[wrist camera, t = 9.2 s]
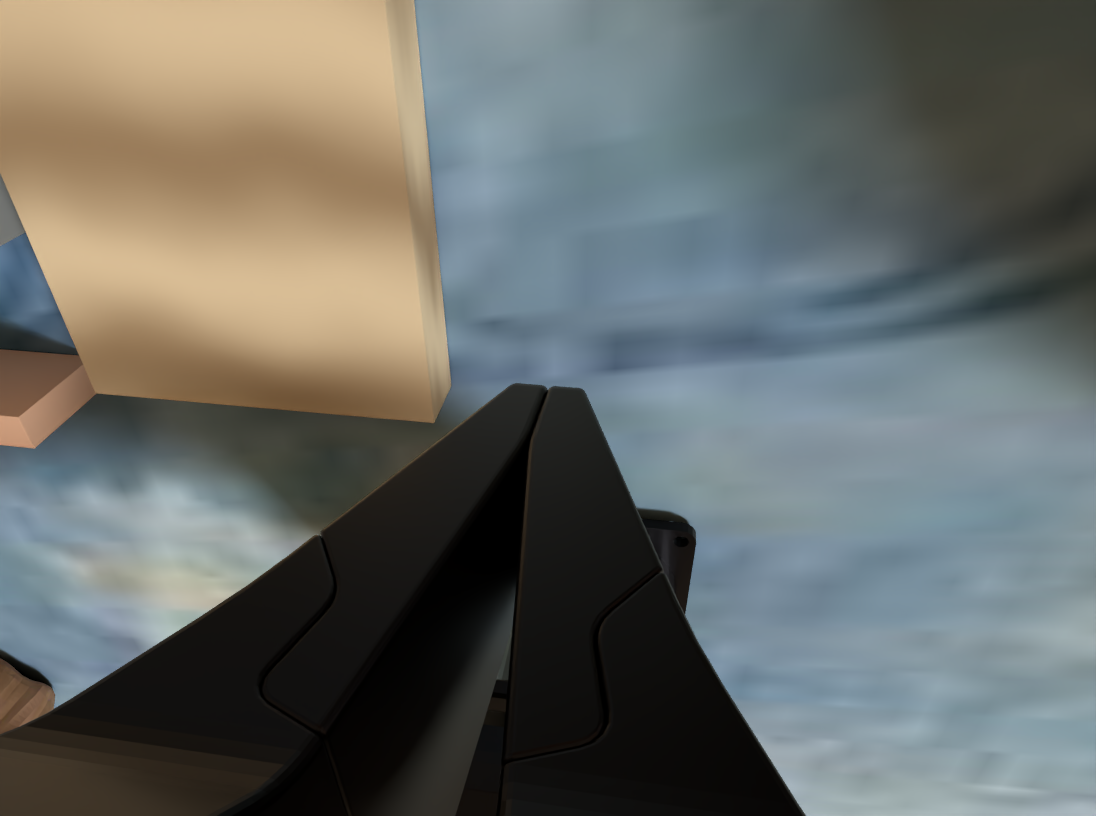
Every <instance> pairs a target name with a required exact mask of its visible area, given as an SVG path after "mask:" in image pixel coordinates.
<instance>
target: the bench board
mask: <svg viewBox="0 0 1096 816" xmlns="http://www.w3.org/2000/svg"><path fill="white" fill-rule="evenodd" d="M0 174H1V176H2V178H3V181H4V183H5V185H6V188H7V190H8V192H9V194H10V197H11V199H12V201H13V204H14V206H15V208H16V211H17V213H18V215H19V218H20V220H21V222H22V225H23V227H24V229H25V231H26V234H27V236H28V238H29V241H30V243H31V245H32V248H33V250H34V252H35V255H36V257H37V259H38V261H39V264H40V266H41V268H42V271H43V273H44V275H45V278H46V280H47V282H48V285H49V287H50V289H51V291H52V294H53V296H54V298H55V301H56V303H57V305H58V308H59V310H60V312H61V315H62V317H63V319H64V321H65V324H66V326H67V328H68V331H69V333H70V335H71V338H72V340H73V342H74V345H75V347H76V349H77V352H78V354H79V356H80V358H81V361H82V363H83V365H84V368H85V370H86V372H87V375H88V377H89V379H90V382H91V384H92V386H93V388H94V391H95V393H98V394H109V395H121V396H132V397H143V398H155V399H166V400H177V401H189V402H200V403H212V404H223V405H234V406H246V407H257V408H269V409H280V410H291V411H303V412H314V413H325V414H337V415H348V416H360V417H371V418H382V419H394V420H405V421H417V422H428V423H435V420H436V418H437V416H438V414H439V412H440V409H441V407H442V405H443V403H444V401H445V399H446V396H447V394H448V392H449V390H450V388H451V378H450V367H449V357H448V347H447V336H446V326H445V316H444V305H443V295H442V284H441V274H440V264H439V253H438V243H437V233H436V222H435V212H434V202H433V191H432V181H431V171H430V160H429V150H428V140H427V129H426V119H425V109H424V98H423V88H422V78H421V67H420V57H419V47H418V36H417V26H416V16H415V5H414V0H0Z"/></svg>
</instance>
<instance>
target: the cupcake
mask: <svg viewBox="0 0 1096 816" xmlns="http://www.w3.org/2000/svg"><path fill="white" fill-rule="evenodd" d="M54 702H55V694H54V691H53V689H52V688H51V687H50V686H48V685H46V684H44V683H41V682H37V681H33V680H31V679H29V678H27V677H24V676H23V675H21V674H20V673H19V672H18V671H17V670H16V669H15V668H14V667H13V666H11V665H10V664H9V663H7V662H6V661H4V660H2V659H0V734H2V733H5V732H7V731H10V730H12V729H15V728H17V727H20V726H22V725H24V724H26V723H28V722H30V721H32V720H34V719H36V718H38V717H40V716H42V715H44V714H46V713H48V712H49V711H51V710H53V709H54Z"/></svg>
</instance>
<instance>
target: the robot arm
mask: <svg viewBox="0 0 1096 816" xmlns="http://www.w3.org/2000/svg"><path fill="white" fill-rule="evenodd" d="M681 536H682V537H685V538H684V539H679V538H677V537H681ZM695 547H696V532H695V530H694V528H693V527H692V526H690V525H688V524H685V523H677V522H668V521H658V520H648V519H641V517H640V515H639V513H638V510H637V508H636V506H635V504H634V501H633V499H632V497H631V494H630V492H629V490H628V488H627V485H626V483H625V481H624V479H623V476H622V474H621V472H620V470H619V467H618V465H617V463H616V461H615V458H614V456H613V454H612V451H611V449H610V447H609V445H608V442H607V440H606V438H605V436H604V433H603V431H602V429H601V427H600V424H599V422H598V420H597V418H596V415H595V413H594V411H593V408H592V406H591V404H590V402H589V399H588V397H587V395H586V393H585V391H584V390H583V389H581V388H571V387H558V386H553V387H551V388H549V390H547V388H546V387H545V386H543V385H533V384H521V383H515V384H512V385H510V386H509V387H507V388H506V389H505V390H504V391H502V392H501V393H500V394H498V395H497V396H496V397H494V398H493V399H492V400H491V401H489V402H488V403H487V404H485V405H484V406H483V407H481V408H480V409H479V410H478V411H476V412H475V413H474V414H472V415H471V416H470V417H468V418H467V419H466V420H465V421H463V422H462V423H461V424H459V425H458V426H457V427H455V428H454V429H453V430H452V431H450V432H449V433H448V434H446V435H445V436H444V437H442V438H441V439H440V440H439V441H437V442H436V443H435V444H433V445H432V446H431V447H429V448H428V449H427V450H426V451H424V452H423V453H422V454H420V455H419V456H418V457H416V458H415V459H414V460H413V461H411V462H410V463H409V464H407V465H406V466H405V467H403V468H402V469H401V470H399V471H398V472H397V473H396V474H394V475H393V476H392V477H390V478H389V479H388V480H386V481H385V482H384V483H383V484H381V485H380V486H379V487H377V488H376V489H375V490H373V491H372V492H371V493H370V494H368V495H367V496H366V497H364V498H363V499H362V500H360V501H359V502H358V503H357V504H355V505H354V506H353V507H351V508H350V509H349V510H347V511H346V512H345V513H344V514H342V515H341V516H340V517H338V518H337V519H336V520H334V521H333V522H332V523H331V524H329V525H328V526H327V527H325V528H324V529H323V530H322V531H321V536H319V535H315V536H313V537H312V538H311V539H309V540H308V541H307V542H305V543H304V544H303V545H301V546H300V547H299V548H298V549H296V550H295V551H294V552H292V553H291V554H290V555H288V556H287V557H286V558H284V559H283V560H282V561H280V562H279V563H277V564H276V565H275V566H273V567H272V568H271V569H269V570H268V571H266V572H265V573H264V574H262V575H261V576H260V577H258V578H257V579H256V580H254V581H253V582H251V583H250V584H249V585H247V586H246V587H244V588H243V589H241V590H240V591H238V592H237V593H235V594H234V595H232V596H231V597H229V598H228V599H226V600H225V601H223V602H222V603H220V604H219V605H217V606H216V607H214V608H213V609H211V610H210V611H208V612H207V613H205V614H204V615H202V616H201V617H199V618H198V619H196V620H194V621H193V622H191V623H190V624H188V625H187V626H185V627H183V628H182V629H180V630H179V631H177V632H175V633H174V634H172V635H171V636H169V637H168V638H166V639H164V640H163V641H161V642H160V643H158V644H157V645H155V646H153V647H152V648H150V649H149V650H147V651H146V652H144V653H142V654H141V655H139V656H138V657H136V658H135V659H133V660H131V661H130V662H128V663H127V664H125V665H124V666H122V667H120V668H119V669H117V670H116V671H114V672H112V673H111V674H109V675H108V676H106V677H105V678H103V679H101V680H100V681H98V682H97V683H95V684H94V685H92V686H90V687H89V688H87V689H86V690H84V691H83V692H81V693H79V694H78V695H76V696H75V697H73V698H72V699H70V700H68V701H66V702H65V703H63V704H61V705H60V706H58V707H56V708H55V709H53V710H51V711H49V712H48V713H46V714H44V715H42V716H40V717H38V718H36V719H34V720H32V721H30V722H28V723H26V724H24V725H22V726H20V727H17V728H15V729H12V730H10V731H7V732H5V733H2V734H0V816H806V815H805V814H804V812H803V811H802V809H801V808H800V806H799V804H798V803H797V801H796V800H795V798H794V797H793V795H792V793H791V792H790V790H789V789H788V787H787V785H786V784H785V782H784V781H783V779H782V777H781V776H780V774H779V773H778V771H777V770H776V768H775V766H774V765H773V763H772V762H771V760H770V758H769V757H768V755H767V754H766V752H765V750H764V749H763V747H762V746H761V744H760V743H759V741H758V739H757V738H756V736H755V735H754V733H753V731H752V730H751V728H750V727H749V725H748V723H747V722H746V720H745V719H744V717H743V716H742V714H741V712H740V711H739V709H738V708H737V706H736V704H735V703H734V701H733V700H732V698H731V696H730V695H729V693H728V692H727V690H726V689H725V687H724V685H723V684H722V682H721V680H720V678H719V677H718V675H717V673H716V672H715V670H714V668H713V666H712V665H711V663H710V661H709V660H708V658H707V656H706V654H705V653H704V651H703V649H702V648H701V646H700V644H699V643H698V641H697V639H696V637H695V635H694V633H693V631H692V628H691V626H690V624H689V622H688V620H687V618H686V616H685V611H686V605H687V598H688V592H689V585H690V579H691V572H692V566H693V560H694V553H695Z"/></svg>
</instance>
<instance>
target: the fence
mask: <svg viewBox="0 0 1096 816" xmlns="http://www.w3.org/2000/svg"><path fill="white" fill-rule="evenodd" d="M96 394H97V393H95V391H94V388H93V386H92V384H91V382H90V379H89V377H88V375H87V372H86V370H85V368H84V365H83V363H82V361H81V358H80V356H78V355H66V354H53V353H41V352H29V351H16V350H4V349H0V445H6V446H16V447H26V448H36V447H37V446H38V445H39V444H40V443H41V442H42V441H43V440H45V439H46V438H47V437H48V436H49V435H50V434H51V433H53V432H54V431H55V430H56V429H57V428H58V427H59V426H60V425H62V424H63V423H64V422H65V421H66V420H67V419H68V418H69V417H71V416H72V415H73V414H74V413H75V412H76V411H77V410H79V409H80V408H81V407H82V406H83V405H84V404H85V403H86V402H88V401H89V400H90V399H91V398H92V397H93V396H94V395H96Z"/></svg>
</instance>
